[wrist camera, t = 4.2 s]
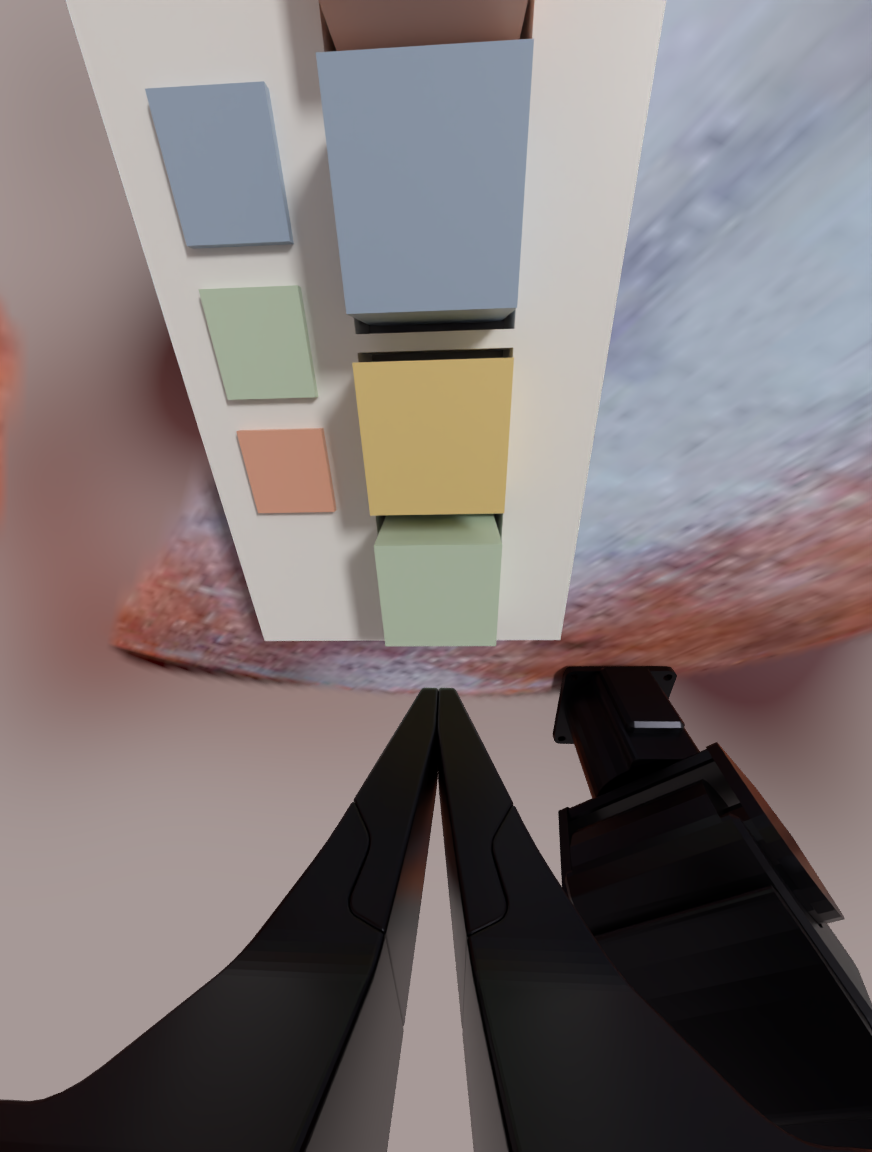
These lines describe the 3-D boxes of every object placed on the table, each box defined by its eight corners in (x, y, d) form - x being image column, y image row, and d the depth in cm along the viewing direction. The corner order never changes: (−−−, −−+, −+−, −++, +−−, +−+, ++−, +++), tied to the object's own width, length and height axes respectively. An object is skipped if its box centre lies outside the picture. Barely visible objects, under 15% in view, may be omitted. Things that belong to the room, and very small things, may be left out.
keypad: (543, 598, 21) (561, 643, 17) (291, 600, 21) (261, 645, 18) (652, -243, 9) (773, -603, 6) (92, -193, 10) (-101, -495, 6)
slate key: (500, 321, 13) (517, 307, 10) (370, 326, 13) (346, 314, 10) (509, 132, 11) (534, 38, 8) (353, 141, 11) (316, 52, 8)
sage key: (488, 598, 18) (496, 645, 15) (396, 599, 18) (385, 646, 15) (491, 509, 16) (502, 544, 13) (387, 511, 16) (373, 545, 13)
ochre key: (493, 483, 15) (504, 513, 12) (385, 486, 16) (369, 515, 13) (498, 359, 13) (514, 357, 10) (373, 363, 13) (351, 362, 10)
